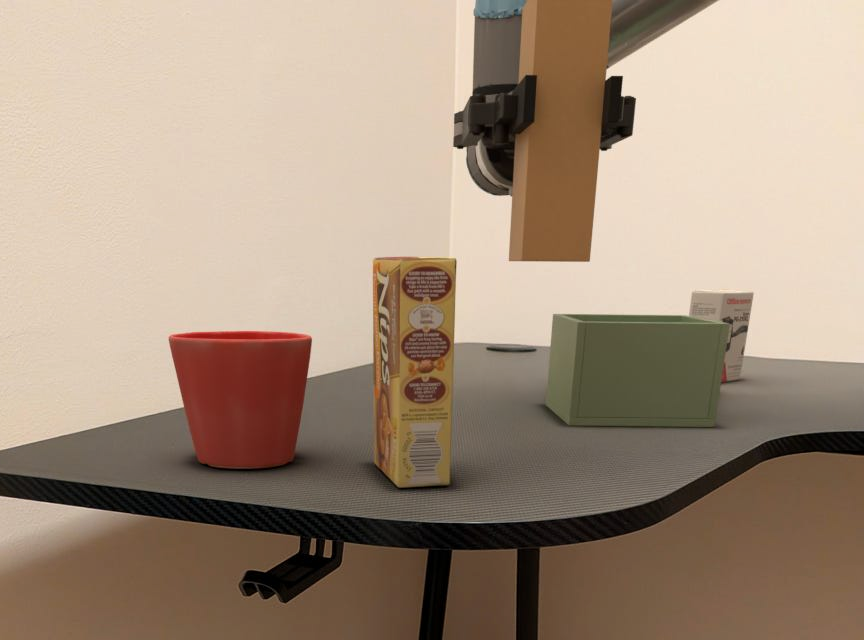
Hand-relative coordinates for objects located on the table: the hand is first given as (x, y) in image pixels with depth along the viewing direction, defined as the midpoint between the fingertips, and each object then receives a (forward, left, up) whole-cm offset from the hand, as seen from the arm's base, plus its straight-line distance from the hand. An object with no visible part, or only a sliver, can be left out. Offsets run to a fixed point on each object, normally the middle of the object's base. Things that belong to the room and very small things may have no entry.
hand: (572, 99), depth 61 cm
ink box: (-33, -61, -25) cm, 74 cm away
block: (0, -5, -10) cm, 11 cm away
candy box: (+11, +1, -25) cm, 27 cm away
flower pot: (+24, -4, -25) cm, 35 cm away
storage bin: (-13, -29, -25) cm, 40 cm away
